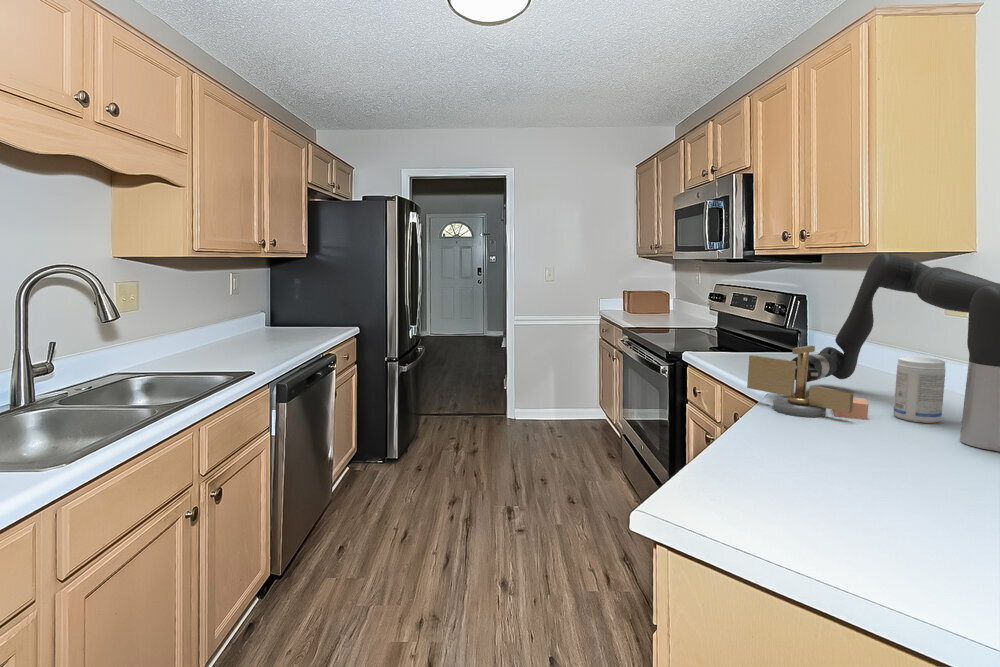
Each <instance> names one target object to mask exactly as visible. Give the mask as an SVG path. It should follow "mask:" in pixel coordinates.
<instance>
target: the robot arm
mask: <svg viewBox="0 0 1000 667" xmlns="http://www.w3.org/2000/svg"><path fill="white" fill-rule="evenodd" d="M879 288H883V289H886V290H891V291H897V292H902V293H903V292H904V293H912V294H916V295H917V297H918V298H919V299H920V300H921V301H923V302H924V303H926V304H928V305H931V306H934V307H936V308H940V309H943V310H946V311H952V312H953V311H954V312H958V313H959V312H960V313H967V314H968V322H967V323H968V324H967V338H966V339H967V342H966V343H967V344H966V345H967V349H968V355H969V356H968V364H967V374H966V381H965V390H964V399H963V408H962V417H961V427H960V435H959V441H960V442H961V443H963V444H965V445H968V446H970V447H974V448H977V449H984V450H988V451H989V450H990V451H994V452H999V453H1000V282H994V281H992V280H989V279H985V278H983V277H980V276H976V275H973V274H971V273H966V272H962V271H960V270H956V269H953V268H949V267H944V266H942V267H941V266H934V267H931V266H929V265H926V264H924V263H922V262H920V261H918V260H917V259H914V258H912V257H911V258H910V257H905V256H901V255H897V254H892V253H887V252H881V253H879V254H877V255H876V256H875V257H874V258H873V259H872V261H871V262H870V264H869V266H868V268H867V270H866V271H865V275H864V277H863V279H862V282H861V285H860V287H859V288H858V292H857V295H856V296H855V300H854V302H853V305H852V307H851V310H850V312H849V314H848V316H847V318H846V320H845V321H844V323H843V325H842V327H841V328H840V330H839V331H838V332H837V335H836V336H835V339H834V340H835V343H836V345H837V346H838V347H839V348H840V349H841V351H842V352H841V351H840V350H839V349H837V348H835V347H832V346H826V347H825V348H822V349H821V351H820V352H819V353H816V354H815V353H814V354H811V353H809V359H808V372H807V383H810V382H813V381H818V380H820V379H824V378H827V377H830V376H833V377H835V378H836V379H838V380H846V379H848V378H850V377H852V375H853V374H854V372H855V370H856V368H857V364H858V359H859V356H860V352H861V349H862V347H863V345H864V344H865V342H866V340H867V339H868V338H869V335H870V334H871V332H872V330H873V327H874V322H875V321H874V319H875V318H874V310H873V300H874V297H875V295H876V293H877V291H878V290H879ZM791 361H796V368H795V381H796V375H797V362H798V356H795V357H794V358H793V359H791Z"/></svg>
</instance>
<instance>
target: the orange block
mask: <svg viewBox="0 0 1000 667" xmlns="http://www.w3.org/2000/svg"><path fill="white" fill-rule="evenodd" d="M869 407H870V405H869V403H868V401H867V399H866V398H863V397H862V398H861V397H854V396H853V407H852V412H850V413H848V412H842V411H837V410H832V409H831V411H832V415H833V416H834V417H839V418H848V419H856V420H857V419H858V420H868V416H869Z"/></svg>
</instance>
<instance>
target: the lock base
mask: <svg viewBox="0 0 1000 667" xmlns="http://www.w3.org/2000/svg"><path fill="white" fill-rule="evenodd" d="M772 409H773V410H774V411H775V412H777V413H780V414H784V415H789V416H794V417H802V418H803V417H804V418H821V417H824V416H827V408H822V407H817V406H812V405H799V404H793V403H790V402H788V397H781V398H780V397H779V398H775V399H774V400H773V405H772Z"/></svg>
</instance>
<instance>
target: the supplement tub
mask: <svg viewBox="0 0 1000 667" xmlns="http://www.w3.org/2000/svg"><path fill="white" fill-rule="evenodd" d="M895 376H896V378H895V388H894V391H895V392H894V404H893V405H894V406H893V415H894V417H896V418H898V419H901V420H904V421H907V422H915V423H923V424H934V423H939V422H940V421H941V420H942V417H943V416H942V415H943V405H944V404H943V403H944V392H945V382H946V361H945V360H942V359H938V358H937V359H936V358H930V357H917V356H916V357H915V356H903V357H899V358H898V360H897V366H896V375H895Z"/></svg>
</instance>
